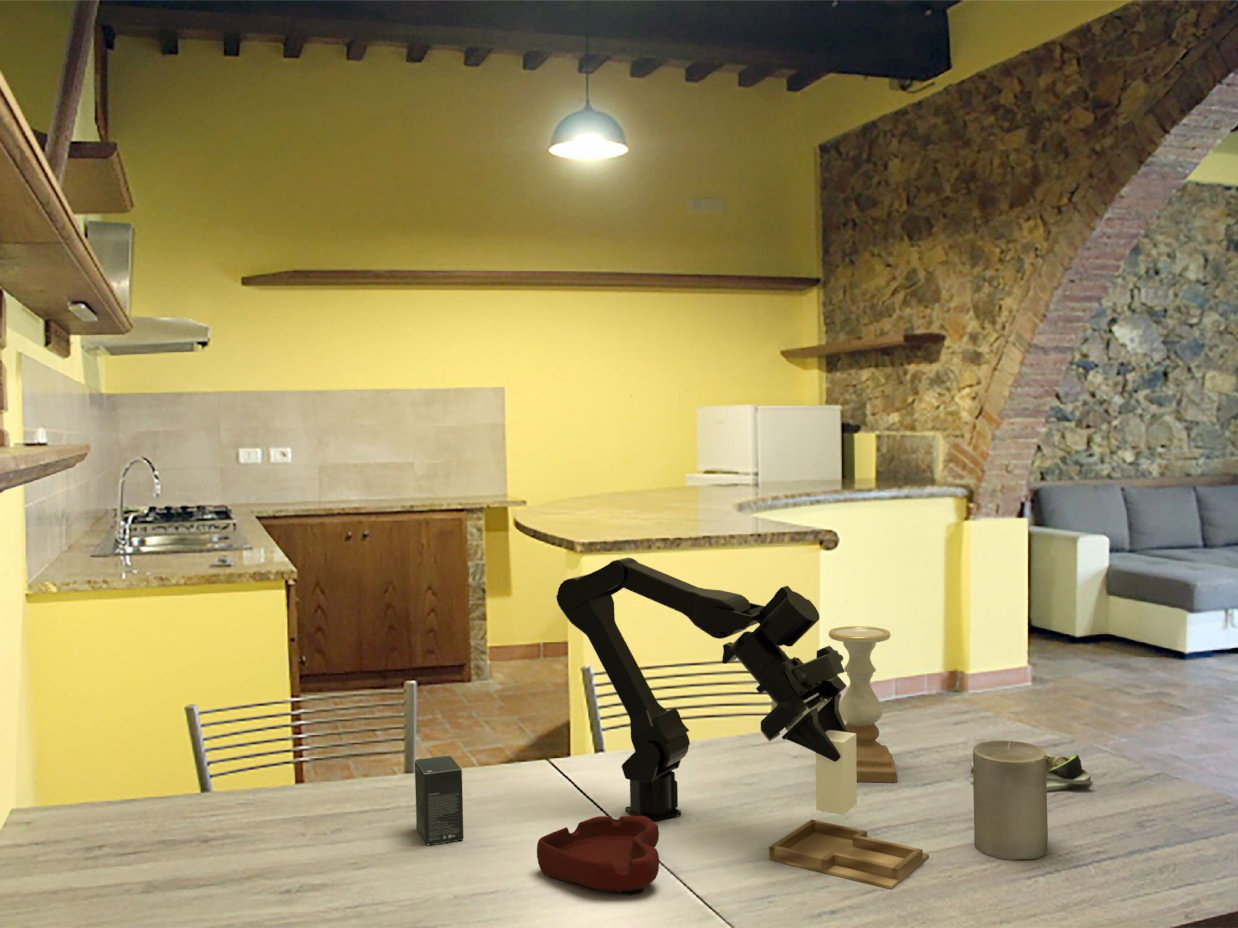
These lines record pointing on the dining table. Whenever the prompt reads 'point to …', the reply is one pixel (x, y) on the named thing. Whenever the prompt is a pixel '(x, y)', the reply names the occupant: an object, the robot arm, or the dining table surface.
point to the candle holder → (864, 703)
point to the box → (439, 800)
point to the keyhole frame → (847, 854)
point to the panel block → (837, 775)
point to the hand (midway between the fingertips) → (845, 754)
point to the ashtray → (603, 854)
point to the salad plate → (1064, 773)
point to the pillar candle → (1010, 800)
